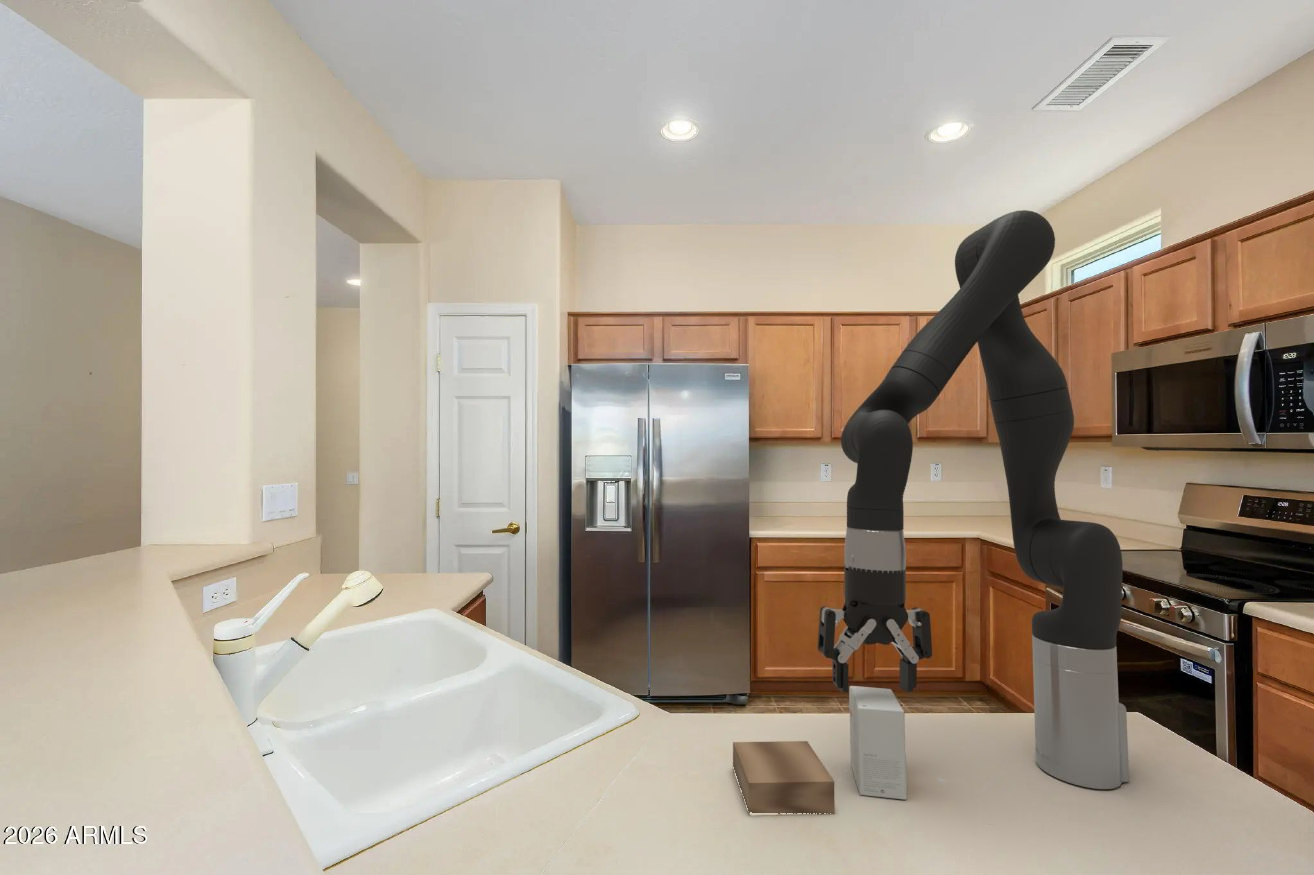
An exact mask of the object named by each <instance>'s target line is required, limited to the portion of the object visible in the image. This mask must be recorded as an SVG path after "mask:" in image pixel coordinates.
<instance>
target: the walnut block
mask: <svg viewBox="0 0 1314 875" xmlns="http://www.w3.org/2000/svg"><path fill="white" fill-rule="evenodd" d="M816 753H817V752H815V750H814V749H813V747H812V746H811V745H810V743H809V742H808V740H792V741H791V740H790V741H787V740H786V741H785V740H784V741H783V740H782V741H779V740H778V741H733V742H732V768H733V767H734V770H735V773H736V776H737V779H738V782H739V785H740V788H741V790H742V794H743V796H744V799H745V802H746V805H747V808H748V811H749V813H750V812H752V813H778V814H780V813H786V814H787V813H793V814H794V813H796V814H797V813H802V814H803V813H806V814H807V813H809V814H810V813H811V814H813V813H815V814H816V813H817V815H835V814H836V812H835V811H836V809H835V803H836V802H835V780H834V779H833V777H832V775H831V774H830V773H829V771H828V770H827V768H826V766H825V765H824V764H823V761H821V759H820V758H819V757H818V755H817V754H816ZM748 811H747V812H748ZM819 813H821V814H819ZM824 813H826V814H824ZM827 813H828V814H827ZM830 813H831V814H830Z"/></svg>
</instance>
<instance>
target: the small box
mask: <svg viewBox="0 0 1314 875" xmlns="http://www.w3.org/2000/svg"><path fill="white" fill-rule="evenodd" d="M848 693H849V695H848V696H849V700H848V701H849V702H848V703H849V744H850V745H849V746H850V748H849V753H850V757H849V759H850V766H851V769H852V773H853V777H854V780H855V783H856V787H857V790H858V794H859V795H860V796H868V797H875V798H885V799H887V798H888V799H897V800H907V766H906V764H907V763H906V762H907V761H906V759H907V758H906V757H907V756H906V730H905V729H906V725H905V721H906V720H905V711H904V709H903V707H902V706H901V704H900V702H899V700H898V698H897V697H896V695H895V693H894V692H893V690H892V689H891V688H885V687H883V688H882V687H881V688H880V687H869V686H860V685H859V686H857V685H850V686H848Z"/></svg>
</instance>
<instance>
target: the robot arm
mask: <svg viewBox="0 0 1314 875" xmlns="http://www.w3.org/2000/svg"><path fill="white" fill-rule="evenodd" d="M1055 247H1056V236H1055V232H1054V229H1053V227H1052V225H1051V223H1050V222H1049V221H1048V219H1047V218H1046V217H1045V216H1043V215H1042V214H1040V213H1038V212H1035V211H1032V210H1026V209H1025V210H1024V209H1023V210H1015V211H1012V212H1011V211H1010V212H1008V213H1006V214H1003V215H1001V216H1000V217H997V218H995V219H993V220H992V221H991V222H988V223H987V224H985V225H983V226H982V227H981V228H979V229H977V230H975V231H973V232H972V233H971V234H969V235H967V237H965V238H964V239H963V240H962V241H961V242H960V244H959V245H958V246H957V249H956V253H955V255H954V256H955V257H954V270H955V275H956V278H957V282H958V285H959V289H958V291H957V292H956V293H954V295H953V296H952V297H951V299H949V300H948V302H947V303H946V304H945V305H944V306H943V307H942V308H941V309H940V310H939V311H937V313H936V314H935V315H934V316H933V317H931V319H930V320H929V321H928V322H926V324H924V325H923V327H922V328H921V329H920V330H919V331H918V332H917V333H916V334H915V335H914V337H913V338H912V339H911V340H910V341H909V342H908V344H907V346H905V348H904V349H903V350H902V352H901V353H900V355H899V356H898V357H897V359H896V360H895V362H894V363H893V364H892V366H891V368H890V369H889V370H888V372H887V374H886V375H885V377H884V379H883V380H882V381H881V383H880V384H879V385H878V386H877V387H876V388H875V390H873V391H872V392H871V393H870V394H869V396H868V397H867V398H866V399H865V400H864V401H863V402H862V404H860V406H858V408H857V409H856V410H855V411H854V413H853V414H852V415H851V416H850V418H849V419H848V421H846V424H845V425H844V427H843V430H842V433H841V437H840V445H841V448H842V451H843V453H844V456H846V457H847V459H848V460H850V461H851V462H853V463H855V464H857V466H856V476H855V482H854V484H852V485H851V486H850V487H849V489H848V492H847V498H846V529H845V530H846V532H845V540H844V556H843V558H844V559H843V560H844V564H843V565H844V569H843V570H844V574H843V577H844V578H843V580H844V582H843V583H844V584H843V587H844V588H843V597H844V604H843V607H842V609H840V608H839V609H838V608H829V607H828V606H825V605H823V606H821V607H820V609H819V619H818V631H817V632H818V633H817V634H818V636H817V651H818V652H819V653H821V654H822V655H823V656H824V657H825V658H827V659H831V660H832V667H831V668H832V672H831V674H832V677H831V679H832V682H833V683H832V684H833V685H834V686H835V687H836V689H837V690H838V691H839V692H840V693H842V694H848V693H849V664H850V663H848V662H847V661H848V660H849V658H850V657H851V655H853V653H854V651H855V652H856V651H857V650H859V648H860V647H861V646H862V644H864V645H867V646H868V645H875V644H879V645H880V644H881V645H885V646H887V645H889V646H890V645H891V644H892V645H893V646H894V648H895V649H896V651H897V652H898V653H899V655H900V656H901V657H902V658H899V687H900V689H901V691H904V692H905V693H907V694H908V693H914V689H915V688H916V687H917V684H918V676H917V675H918V662H919V661H920V660H923V659H931V658H932V657H933V645H932V631H931V614H930V612H928V611H926V610H923V608H919V607H918V606H917V607H916V606H915V607H914V606H913V608H911V609H906V606H905V603H906V599H907V591H906V590H907V582H906V581H907V579H906V578H907V577H906V576H907V575H906V574H907V573H906V572H907V569H906V568H907V566H906V565H907V557H906V551H907V550H906V541H905V533H904V529H905V528H904V526H905V524H904V522H905V520H904V495H905V490H906V487H907V483H908V479H909V478H908V477H909V475H910V469H911V463H912V458H913V451H914V449H913V448H914V443H913V442H914V441H913V434H912V431H911V428H910V426H909V424H910V423H911V421H913V419H914V418H915V417H916V416H918V415H919V414H922V413H924V412H925V411H927V410H928V409H929V408H930V407H931V406H932V405H933V404H934V402H935V401H936V400H937V398H938V397H939V395H941V393H942V391H943V390H944V388H945V387H946V385H947V384H948V383H949V381H950V380H951V378H952V377H953V376H954V374H955V373H956V371H957V370H958V368H959V367H960V366H961V364H962V363H963V361H964V360H965V359H966V357H967V356H968V354H969V353H970V352H971V350H972V349H973V348H974V346H975V345H976V344H977V347H978V351H979V357H980V359H981V364H982V368H983V371H984V376H985V380H986V385H987V392H988V399H989V404H990V407H991V408H990V409H991V413H992V417H993V422H994V426H995V429H996V433H997V437H998V442H999V447H1000V451H1001V457H1002V463H1003V467H1004V473H1005V478H1006V485H1007V492H1008V493H1007V494H1008V500H1009V510H1010V521H1011V522H1010V523H1011V532H1012V534H1011V535H1012V541H1013V549H1014V552H1015V558H1016V559H1017V560H1016V561H1017V562H1018V565H1019V567H1020V569H1021V570H1022V572H1023V573H1024V574H1025V575H1026V576H1027V577H1028V578H1029V579H1030V580H1032V581H1035V582H1038V583H1040V584H1044V585H1045V584H1046V585H1049V586H1055V587H1059V588H1062V596H1061V597H1062V598H1061V604H1060V606H1058V607H1057V608H1053V609H1047V610H1041V611H1040V610H1039V611H1037V612H1035V613H1034V614H1033V615H1032V617H1031V639H1032V640H1031V641H1032V642H1031V643H1032V668H1033V669H1032V673H1033V674H1032V675H1033V703H1034V705H1033V708H1034V741H1035V742H1034V743H1035V746H1034V747H1035V748H1034V749H1035V763H1036V764H1037V766H1038V767H1039V768H1040V769H1041V770H1042V771H1044V772H1046V773H1047V774H1049V775H1050V776H1052V777H1054V778H1056V779H1059V780H1061V781H1063V782H1066V783H1069V784H1072V785H1076V786H1079V787H1083V788H1088V789H1096V790H1111V789H1112V790H1113V789H1118V787H1120V786H1121V785H1122V783H1130V768H1129V767H1130V766H1129V745H1128V744H1129V742H1128V720H1127V718H1128V717H1127V708H1126V706H1125V705H1124V704H1123V703H1121V702H1119V681H1118V679H1119V678H1118V677H1119V676H1118V674H1119V673H1118V661H1117V660H1118V652H1117V633H1118V631H1119V627H1120V625H1121V622H1122V621H1121V620H1122V601H1123V596H1122V595H1123V555H1122V549H1121V546H1120V543H1119V540H1118V538H1117V536H1116V535H1115V534H1114V532H1113V531H1112V530H1111V529H1110V528H1109V527H1107V526H1105V525H1103V524H1100V523H1098V522H1097V523H1096V522H1090V521H1080V520H1070V519H1068V520H1067V519H1061V515H1060V514H1059V509H1058V505H1057V497H1056V491H1055V490H1056V488H1055V487H1056V486H1055V482H1056V477H1057V472H1058V470H1059V466H1060V464H1061V462H1062V460H1063V458H1064V455H1065V452H1066V451H1067V449H1068V445H1069V443H1070V441H1071V437H1072V435H1073V432H1074V427H1075V426H1074V425H1075V415H1074V409H1073V404H1072V400H1071V399H1072V398H1071V395H1070V391H1069V387H1068V382H1067V378H1066V376H1065V373H1064V371H1063V368H1061V366H1060V365H1059V363H1058V361H1057V360H1056V359H1055V357H1054V356H1053V355H1052V353H1051V352H1050V351H1049V350H1048V349H1047V348H1046V347H1045V346H1044V344H1043V343H1042V342H1041V341H1040V340H1039V339H1038V338H1037V336H1036V335H1035V333H1034V332H1033V331H1032V330H1031V328H1030V327H1029V326H1028V323H1027V321H1026V319H1025V316H1024V314H1023V310H1022V307H1021V306H1022V305H1021V302H1020V298H1019V297H1020V296H1019V294H1020V293H1021V292H1022V291H1023V290H1024V289H1025V288H1026V287H1027V286H1028V285H1029V284H1031V282H1033V280H1034V279H1036V277H1037V276H1038V275H1039V274H1040V273H1042V271H1043V270H1044V268H1046V266H1047V265H1048V263H1049V262H1050V260H1051V259H1052V257H1053V255H1054V252H1055V251H1054V250H1055ZM841 620H842V621H843V622H844V623H845V625H846V626H845V627H844V629H843V630H842V632H841V633H840V635H839V637H838V641H837V642H836V643H835V635H836V633H835V632H836V627H838V626H839V624H840V622H841ZM907 622H908V623H909V625H911V629H912V632H911V633H912V645H913V646H912V645H911V643H910V641H909V640H908V639H907V637H906V636H905V634H904V633H903V631H902V629H903V628H904V627H905V626H906V624H907Z"/></svg>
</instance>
